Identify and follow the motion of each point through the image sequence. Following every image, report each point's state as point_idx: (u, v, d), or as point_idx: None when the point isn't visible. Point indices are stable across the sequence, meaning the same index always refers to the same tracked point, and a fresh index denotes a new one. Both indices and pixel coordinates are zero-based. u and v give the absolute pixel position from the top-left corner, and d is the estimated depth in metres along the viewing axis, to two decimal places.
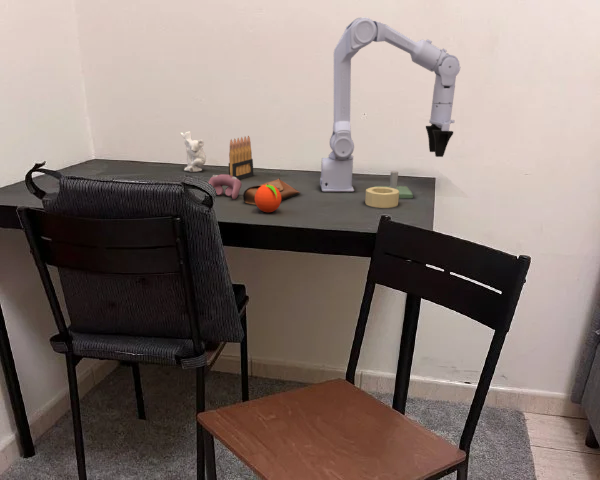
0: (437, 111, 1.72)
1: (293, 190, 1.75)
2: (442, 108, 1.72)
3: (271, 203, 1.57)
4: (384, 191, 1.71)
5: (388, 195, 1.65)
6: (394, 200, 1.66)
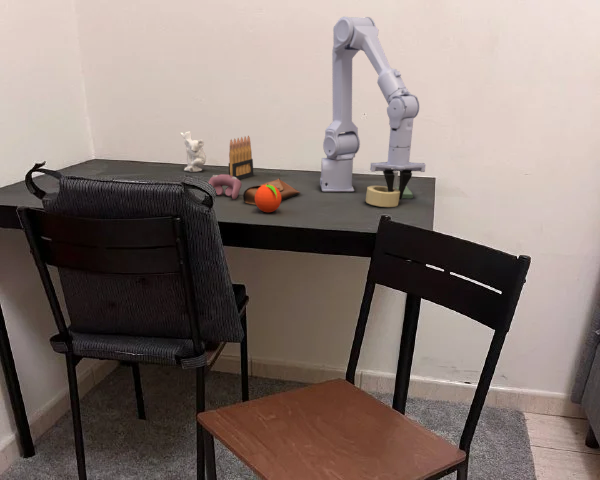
0: None
1: (293, 190, 1.75)
2: None
3: (271, 203, 1.57)
4: (385, 190, 1.71)
5: (389, 194, 1.65)
6: (395, 200, 1.66)
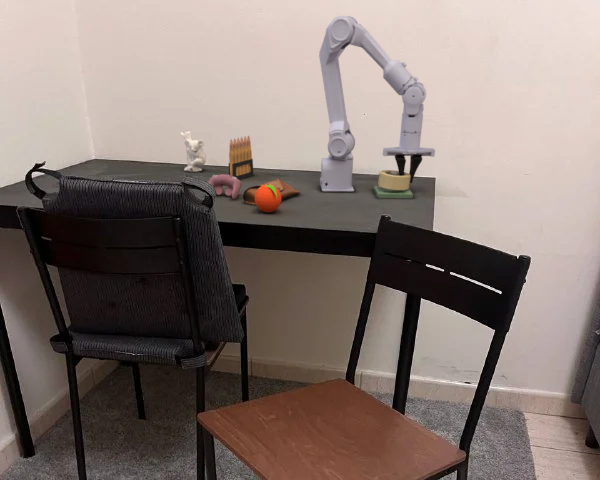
0: None
1: (293, 190, 1.75)
2: (400, 135, 1.72)
3: (271, 203, 1.57)
4: None
5: (400, 178, 1.74)
6: (406, 183, 1.75)
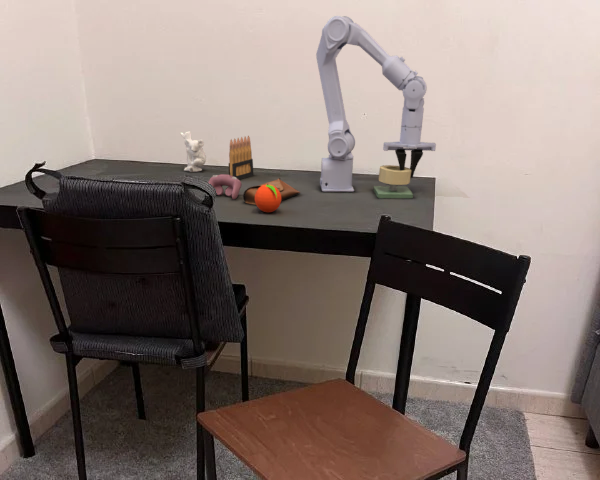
0: None
1: (293, 190, 1.75)
2: (401, 129, 1.71)
3: (271, 203, 1.57)
4: (397, 169, 1.79)
5: (401, 172, 1.73)
6: (406, 178, 1.75)
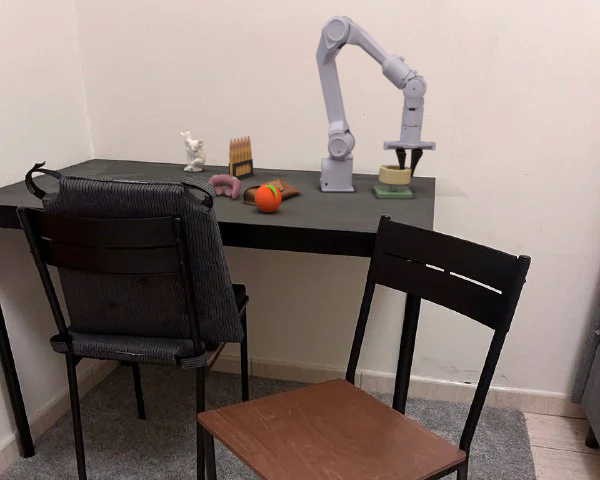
0: None
1: (293, 190, 1.75)
2: (401, 129, 1.71)
3: (271, 203, 1.57)
4: (397, 169, 1.79)
5: (401, 172, 1.73)
6: (406, 177, 1.74)
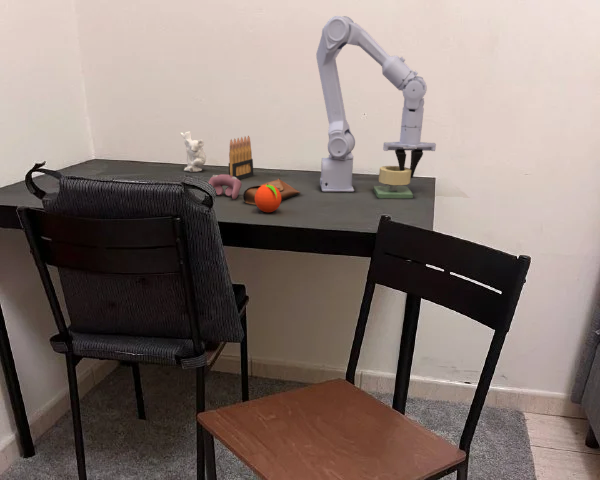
0: None
1: (293, 190, 1.75)
2: (401, 129, 1.71)
3: (271, 203, 1.57)
4: (397, 170, 1.79)
5: (401, 173, 1.73)
6: (406, 178, 1.75)
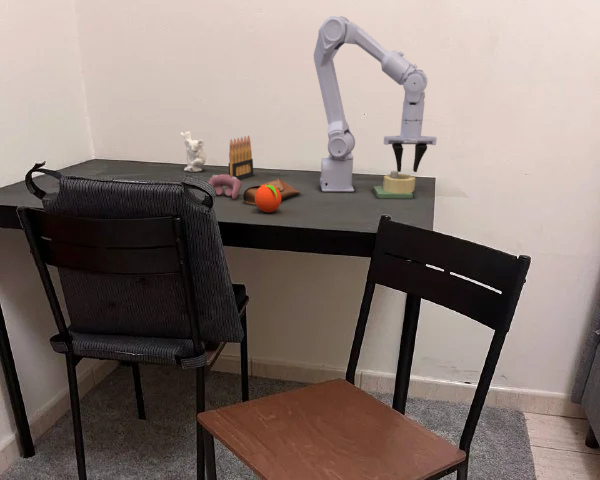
0: None
1: (293, 190, 1.75)
2: (401, 123, 1.71)
3: (271, 203, 1.57)
4: (401, 178, 1.80)
5: (405, 181, 1.74)
6: (411, 186, 1.76)
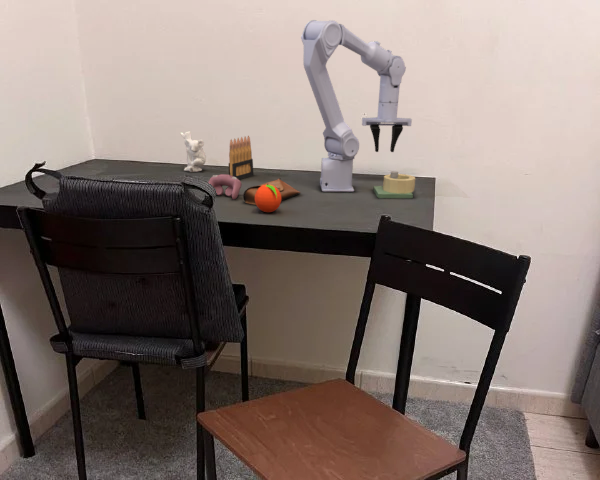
0: None
1: (293, 190, 1.75)
2: (378, 105, 1.81)
3: (271, 203, 1.57)
4: (401, 178, 1.80)
5: (405, 181, 1.74)
6: (411, 186, 1.76)
